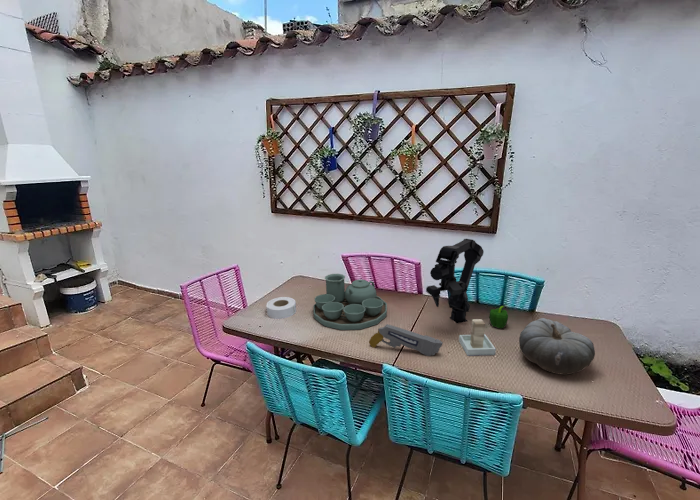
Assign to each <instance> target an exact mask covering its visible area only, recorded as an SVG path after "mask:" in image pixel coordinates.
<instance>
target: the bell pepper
mask: <svg viewBox="0 0 700 500" xmlns="http://www.w3.org/2000/svg"><path fill="white" fill-rule="evenodd" d="M504 308H505V307H504V305H500V307H499V308H492V309H490V311H489V316H488V317H489V322H490V324H491V326H492V327H494V328H495V327H496V328H497V329H504V328H505V327H506V325H507V323H508V319H509V314H508V311H507V310H506V309H504Z"/></svg>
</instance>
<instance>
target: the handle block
mask: <svg viewBox="0 0 700 500" xmlns="http://www.w3.org/2000/svg"><path fill="white" fill-rule="evenodd" d="M485 327H486V323H485V322H484V320H483V319H482V318H481V319H479V318H476V319H471V329H470V330H471V331H470V335H471V340H470V345H471V346H472V348H483V341H484V334H485V330H486V329H485Z"/></svg>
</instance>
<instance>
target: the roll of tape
mask: <svg viewBox="0 0 700 500" xmlns="http://www.w3.org/2000/svg"><path fill="white" fill-rule="evenodd" d="M296 312H297V303H296V300H295V299H294V298H292V297H289V296H280V297H279V296H278V297H275V298H272V299H270V300H269V301H267V302H266V314H267V316H268V317H269V318H271V319H276V320H277V319H279V320H282V319H286V318H290V317H292V316H293V315H295V314H296Z"/></svg>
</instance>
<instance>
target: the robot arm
mask: <svg viewBox="0 0 700 500" xmlns="http://www.w3.org/2000/svg"><path fill="white" fill-rule="evenodd" d="M462 253H464V254H463V257H464V261H465V262H464V265H463V268H462V271H461V274H460V277H459V279H458V281H457V277H456V276H455V272H456V270H455V268H456V264H457V263H458V261H457V260H458V259H459V258H460V254H462ZM483 256H484V249H483V247H482V246H481V245H480V244H478V243H477V241H476V240H474V239H472V238H463V240H461V241H459V242H457V243H455V244H453V245H444V246H442V247H441V248H440V250H439V252H438V254H437V256H436V260H435V263H436V264H434V267H432V269H431V270H430V276H431V278H432V279H433V280H434V281H440V282H439V283H438V285H439V287H437V286H436V285H429V286H428V285H427V286H426V288H425V289H426V290H425V292H426V293H427V294H428V295H430V296H431V297H432V299H433V301H434V304H435V306H436V307H437V308H439V305H440V298H441V295H440V294H441V292H445V291H448V292H449V294H450V295H449V297H448V308H449V309H451V312H450V316H449V319H450V320H452V321H453V322H454V323H455V324H463V323H466V322H468V321H469V319H467V313H468V312H469V311H470V308H471V304H470V303H469V302H468V300H469V297H468V293H467V292H468V288H469V285H470V283H471V279H472V276H473V272H474V270H475V267H476V265H477V264H478V263H479V262H480V261H481V259H482V257H483Z"/></svg>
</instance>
